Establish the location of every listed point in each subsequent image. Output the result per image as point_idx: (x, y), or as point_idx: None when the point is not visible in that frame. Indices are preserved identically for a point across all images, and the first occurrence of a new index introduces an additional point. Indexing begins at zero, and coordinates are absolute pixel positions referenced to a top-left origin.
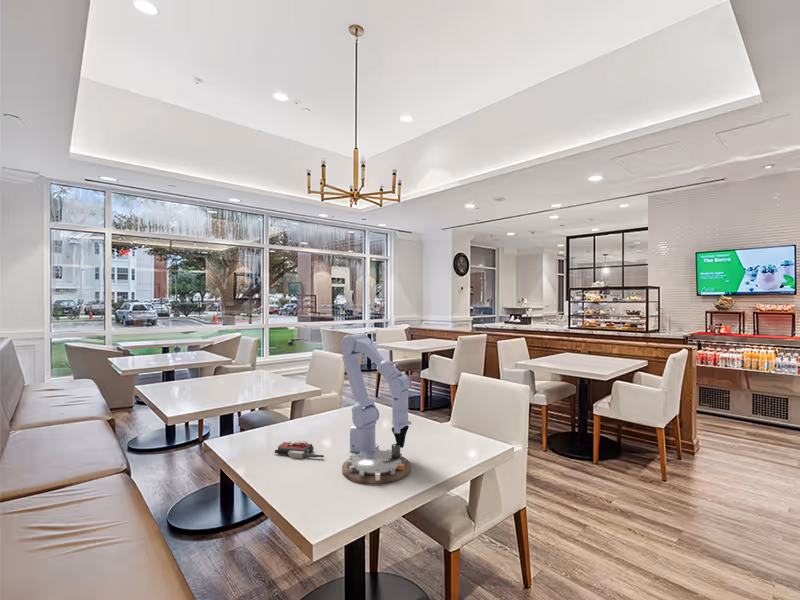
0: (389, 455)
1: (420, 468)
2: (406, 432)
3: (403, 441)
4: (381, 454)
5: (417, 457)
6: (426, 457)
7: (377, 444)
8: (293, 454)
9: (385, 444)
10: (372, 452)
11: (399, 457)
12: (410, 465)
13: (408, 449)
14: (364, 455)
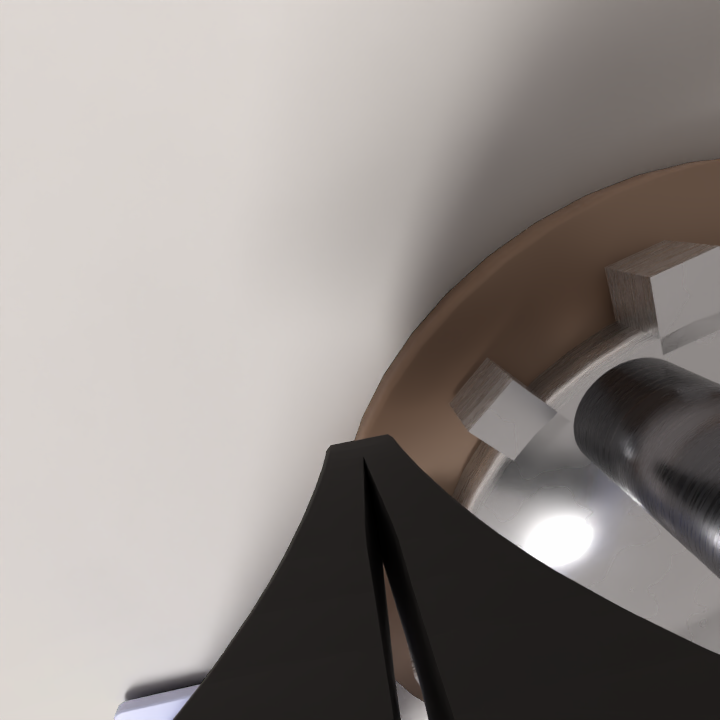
0: (587, 501)
1: (601, 39)
2: (224, 671)
3: (444, 495)
4: None
5: (244, 197)
6: (184, 47)
7: (123, 717)
8: None
9: (40, 665)
10: None
11: (669, 362)
12: (672, 174)
13: (28, 405)
14: None
